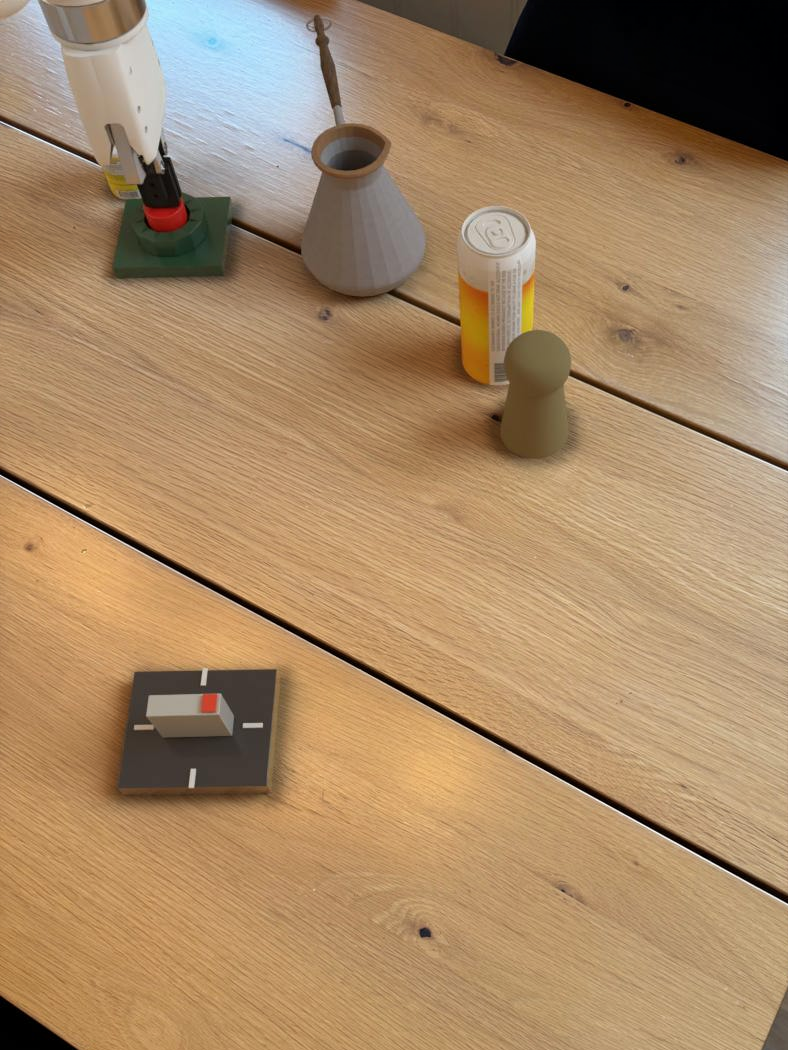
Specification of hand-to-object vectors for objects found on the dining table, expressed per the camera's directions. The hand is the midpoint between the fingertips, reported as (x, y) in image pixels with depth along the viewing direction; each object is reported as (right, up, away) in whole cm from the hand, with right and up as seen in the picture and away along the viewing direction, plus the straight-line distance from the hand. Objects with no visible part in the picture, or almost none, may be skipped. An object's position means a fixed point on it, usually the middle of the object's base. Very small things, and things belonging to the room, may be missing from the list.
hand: (164, 200), depth 95 cm
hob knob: (+8, -46, -20) cm, 51 cm away
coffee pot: (+17, -1, +6) cm, 18 cm away
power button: (0, -1, +2) cm, 2 cm away
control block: (0, -3, +5) cm, 6 cm away
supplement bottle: (-5, +4, +9) cm, 11 cm away
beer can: (+30, -16, -2) cm, 34 cm away
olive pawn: (+33, -23, -6) cm, 41 cm away
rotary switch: (+9, -47, -18) cm, 51 cm away
